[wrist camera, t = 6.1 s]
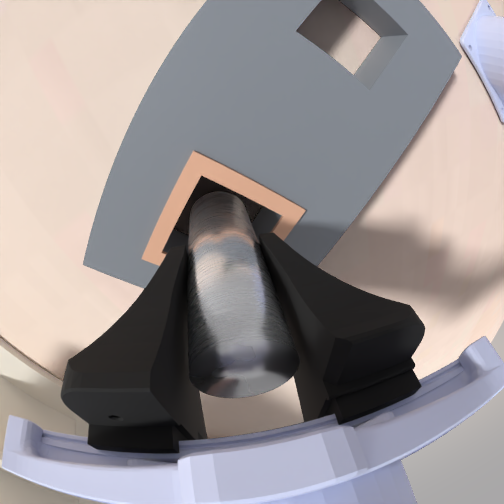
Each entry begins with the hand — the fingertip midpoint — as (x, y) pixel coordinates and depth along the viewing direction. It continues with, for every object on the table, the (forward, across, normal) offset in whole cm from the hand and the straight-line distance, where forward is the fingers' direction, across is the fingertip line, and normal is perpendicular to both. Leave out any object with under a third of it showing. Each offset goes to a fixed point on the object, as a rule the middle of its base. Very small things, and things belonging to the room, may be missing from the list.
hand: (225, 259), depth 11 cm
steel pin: (+3, 0, 0) cm, 3 cm away
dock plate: (+5, -4, -5) cm, 8 cm away
